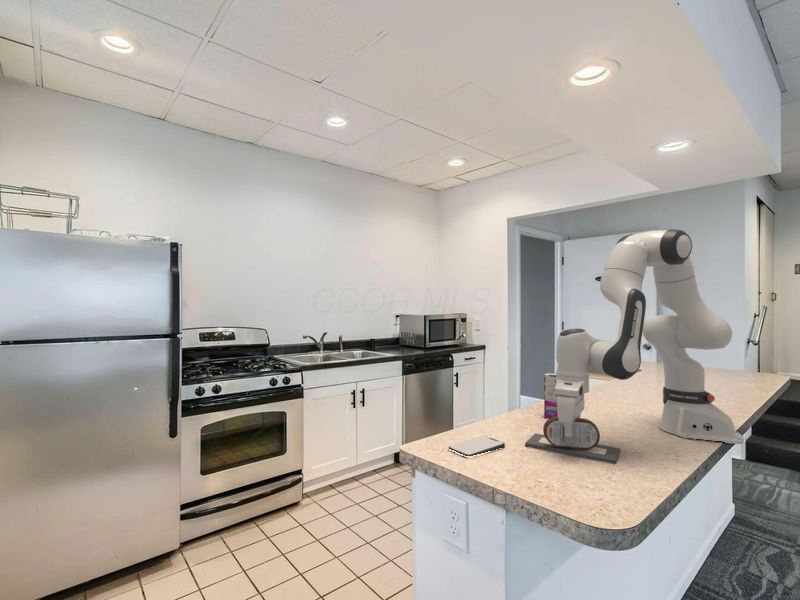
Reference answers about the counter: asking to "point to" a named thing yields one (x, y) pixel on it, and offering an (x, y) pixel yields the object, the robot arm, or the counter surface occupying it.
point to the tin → (582, 435)
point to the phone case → (477, 446)
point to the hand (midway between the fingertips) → (572, 431)
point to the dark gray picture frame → (576, 450)
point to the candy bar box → (550, 396)
